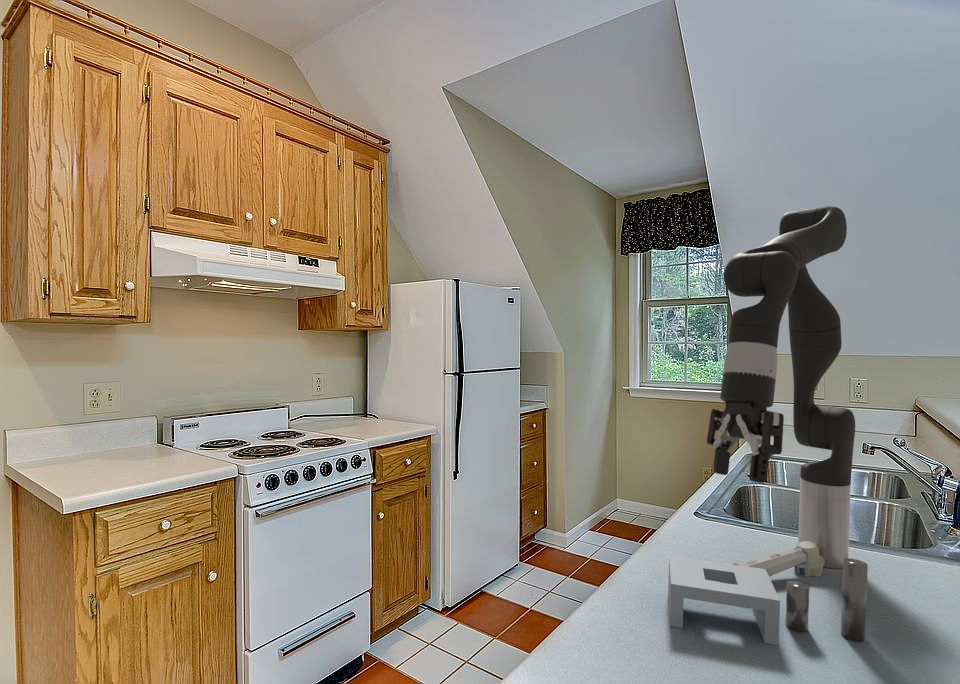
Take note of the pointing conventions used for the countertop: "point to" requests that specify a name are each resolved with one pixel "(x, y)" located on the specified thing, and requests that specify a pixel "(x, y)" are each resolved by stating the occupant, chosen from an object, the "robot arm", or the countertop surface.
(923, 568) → the countertop surface
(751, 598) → the bridge
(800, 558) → the beige toy mallet
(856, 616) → the tall pin
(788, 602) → the short pin
